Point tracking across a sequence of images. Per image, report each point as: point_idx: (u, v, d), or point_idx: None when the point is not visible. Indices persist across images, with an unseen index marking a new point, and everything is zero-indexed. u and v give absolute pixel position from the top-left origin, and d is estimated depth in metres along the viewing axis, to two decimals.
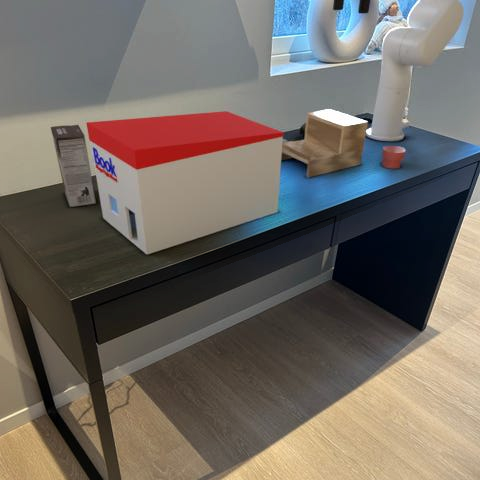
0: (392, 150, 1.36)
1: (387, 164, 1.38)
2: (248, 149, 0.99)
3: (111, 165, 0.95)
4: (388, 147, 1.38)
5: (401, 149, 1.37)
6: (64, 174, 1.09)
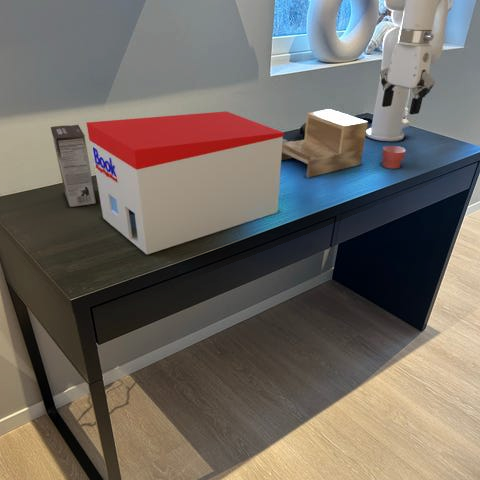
0: (392, 150, 1.36)
1: (387, 164, 1.38)
2: (248, 149, 0.99)
3: (111, 165, 0.95)
4: (388, 147, 1.38)
5: (401, 149, 1.37)
6: (64, 174, 1.09)
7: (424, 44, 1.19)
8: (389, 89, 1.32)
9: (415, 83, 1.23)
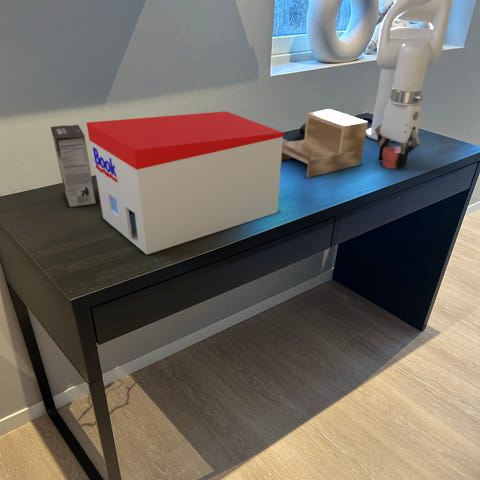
0: (392, 150, 1.36)
1: (387, 164, 1.38)
2: (248, 149, 0.99)
3: (111, 165, 0.95)
4: (388, 147, 1.38)
5: None
6: (64, 174, 1.09)
7: (414, 104, 1.27)
8: (385, 145, 1.39)
9: (406, 139, 1.31)
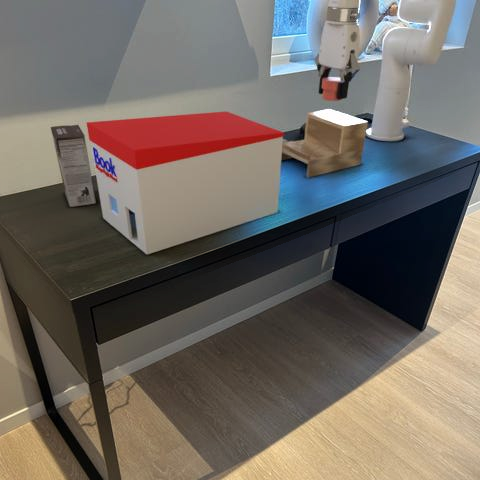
0: (332, 80, 1.24)
1: (327, 96, 1.26)
2: (248, 149, 0.99)
3: (111, 165, 0.95)
4: (328, 77, 1.26)
5: None
6: (64, 174, 1.09)
7: (351, 23, 1.15)
8: (325, 75, 1.27)
9: (344, 64, 1.19)
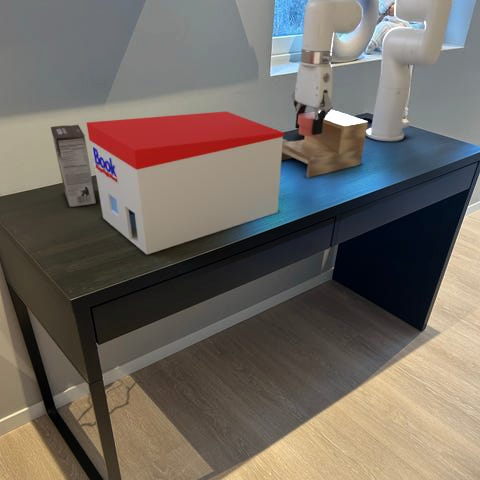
0: (307, 116, 1.30)
1: (303, 132, 1.31)
2: (248, 149, 0.99)
3: (111, 165, 0.95)
4: (304, 114, 1.32)
5: None
6: (64, 174, 1.09)
7: (324, 65, 1.21)
8: (301, 111, 1.33)
9: (318, 103, 1.24)
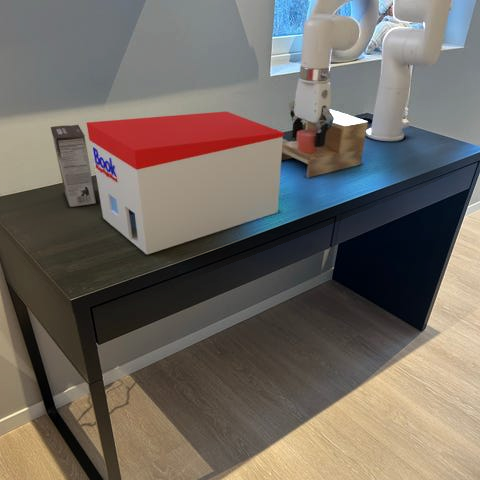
0: (305, 134, 1.32)
1: (302, 148, 1.34)
2: (248, 149, 0.99)
3: (111, 165, 0.95)
4: (302, 131, 1.34)
5: (315, 133, 1.33)
6: (64, 174, 1.09)
7: (322, 82, 1.23)
8: (297, 121, 1.36)
9: (316, 118, 1.27)
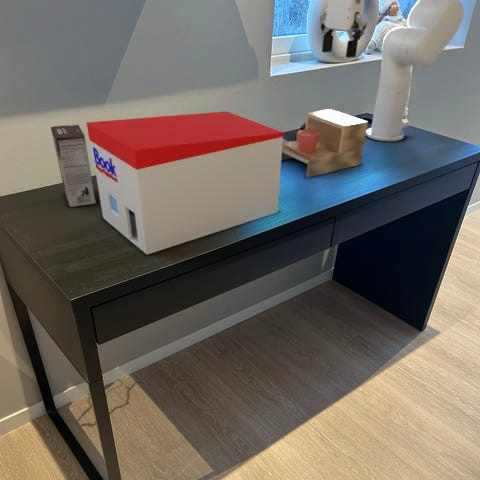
0: (305, 134, 1.32)
1: (302, 148, 1.34)
2: (248, 149, 0.99)
3: (111, 165, 0.95)
4: (302, 131, 1.34)
5: (315, 133, 1.33)
6: (64, 174, 1.09)
7: None
8: (328, 34, 1.36)
9: (349, 25, 1.27)
